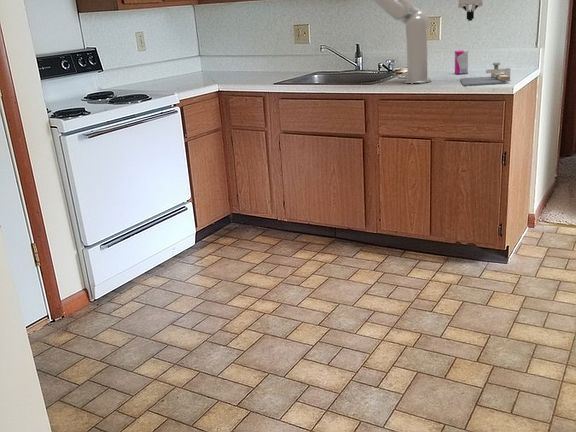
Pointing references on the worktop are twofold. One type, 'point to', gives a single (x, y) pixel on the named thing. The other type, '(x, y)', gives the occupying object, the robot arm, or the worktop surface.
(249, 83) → the worktop surface
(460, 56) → the supplement box
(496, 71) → the keeper
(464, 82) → the base plate
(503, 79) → the link
